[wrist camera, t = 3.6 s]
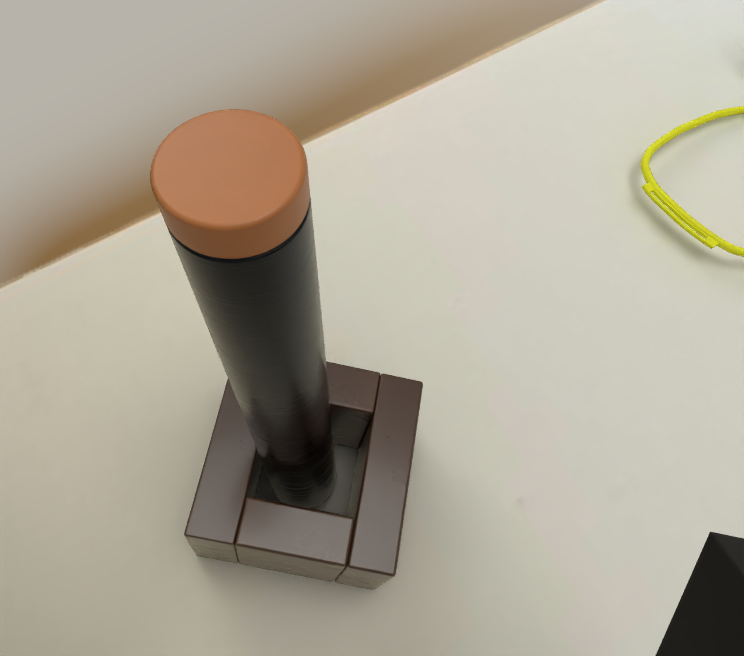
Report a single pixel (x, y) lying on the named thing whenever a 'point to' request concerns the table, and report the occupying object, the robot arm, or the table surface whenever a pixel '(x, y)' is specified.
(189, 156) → the black orange-capped rod
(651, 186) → the glasses
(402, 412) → the pen holder
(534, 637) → the table surface
